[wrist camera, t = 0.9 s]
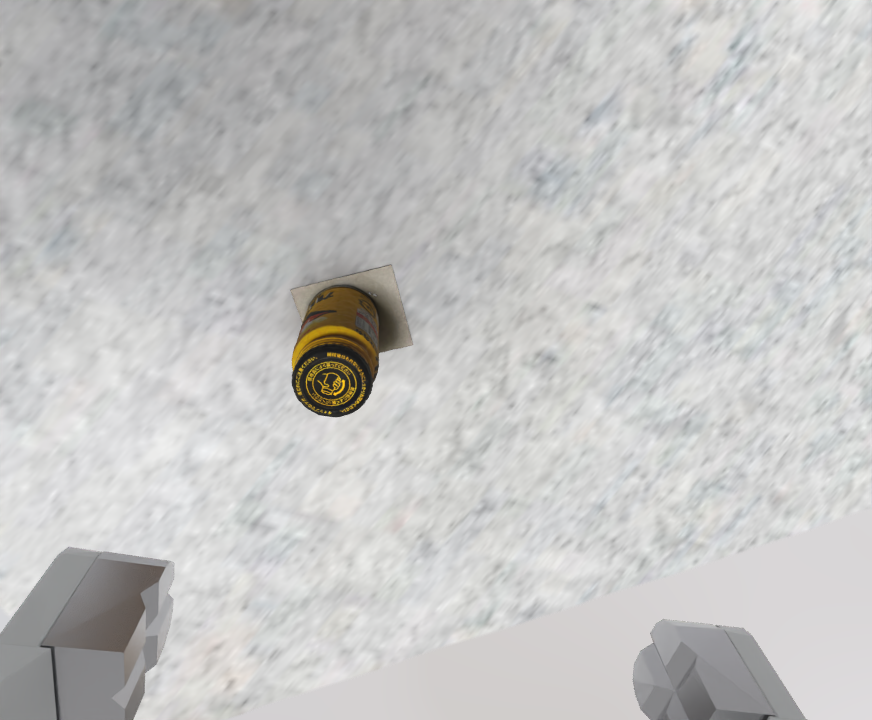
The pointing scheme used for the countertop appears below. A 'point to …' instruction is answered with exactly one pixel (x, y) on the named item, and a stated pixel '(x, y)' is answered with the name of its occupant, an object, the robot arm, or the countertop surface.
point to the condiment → (345, 339)
